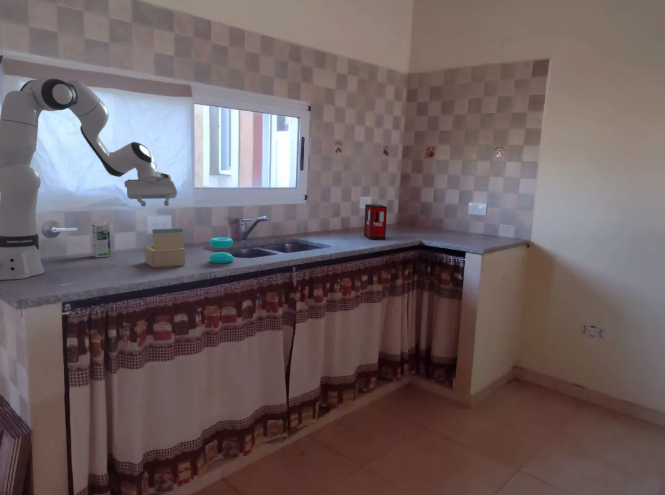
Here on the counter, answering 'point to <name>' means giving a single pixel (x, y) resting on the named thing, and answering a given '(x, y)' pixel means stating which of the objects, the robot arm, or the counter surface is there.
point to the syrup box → (101, 240)
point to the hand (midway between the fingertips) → (155, 205)
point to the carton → (164, 257)
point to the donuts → (221, 256)
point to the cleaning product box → (375, 221)
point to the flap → (168, 238)
